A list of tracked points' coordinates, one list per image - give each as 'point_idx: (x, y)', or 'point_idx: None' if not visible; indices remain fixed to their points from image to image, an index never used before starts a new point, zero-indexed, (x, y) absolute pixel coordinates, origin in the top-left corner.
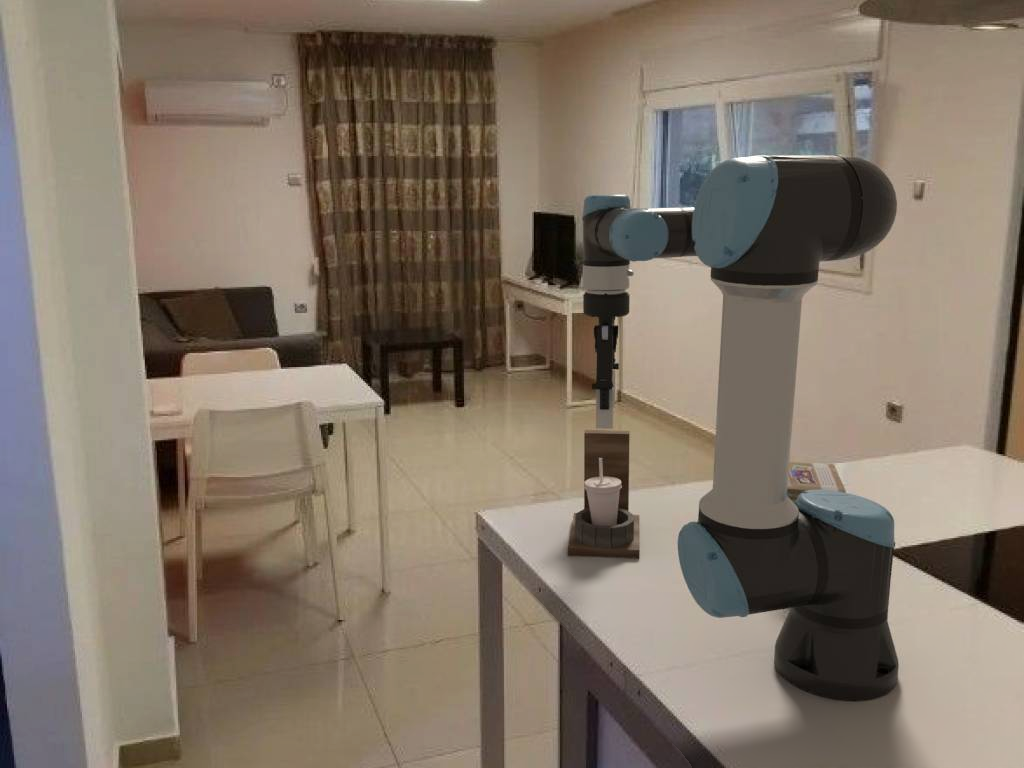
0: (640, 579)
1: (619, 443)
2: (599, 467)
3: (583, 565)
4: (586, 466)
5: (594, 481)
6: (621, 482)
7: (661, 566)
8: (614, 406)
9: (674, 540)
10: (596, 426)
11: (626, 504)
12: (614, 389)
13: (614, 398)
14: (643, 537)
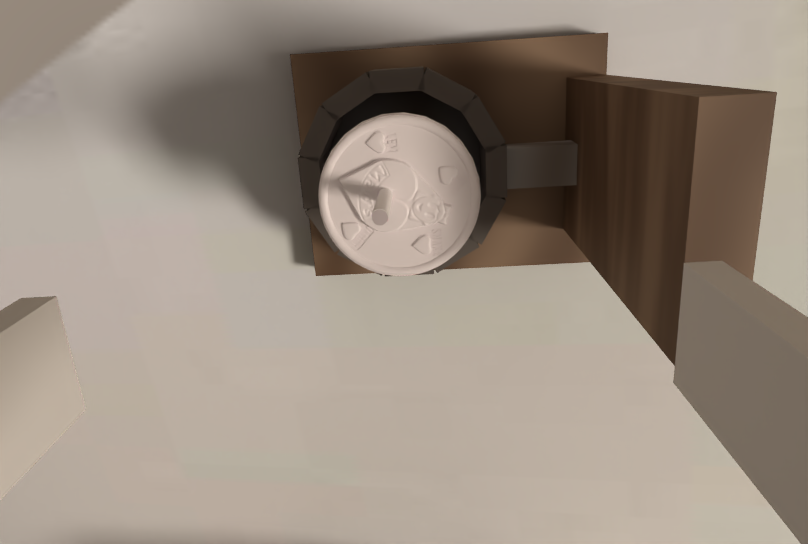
0: (188, 276)
1: (656, 292)
2: (377, 201)
3: (237, 114)
4: (624, 97)
5: (390, 163)
6: (598, 241)
7: (282, 324)
8: (678, 385)
9: (463, 352)
10: (14, 307)
11: (575, 236)
12: (751, 477)
13: (709, 422)
14: (475, 270)
